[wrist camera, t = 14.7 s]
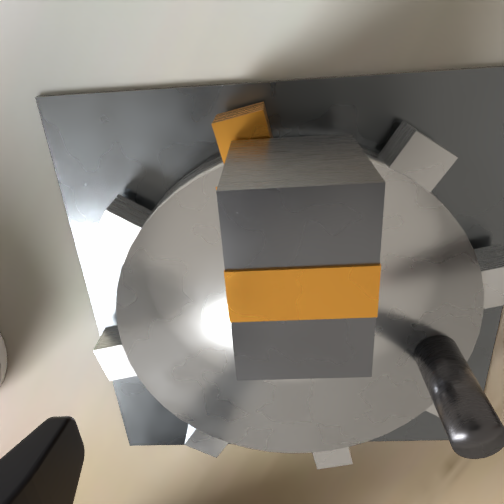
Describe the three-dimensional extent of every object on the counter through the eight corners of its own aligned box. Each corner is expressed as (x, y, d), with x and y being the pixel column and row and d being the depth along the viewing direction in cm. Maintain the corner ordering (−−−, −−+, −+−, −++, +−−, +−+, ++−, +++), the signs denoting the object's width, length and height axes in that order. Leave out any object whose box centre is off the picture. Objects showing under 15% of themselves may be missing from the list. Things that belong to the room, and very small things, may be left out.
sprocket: (591, 241, 19) (734, 341, 13) (342, 480, 26) (363, 611, 20) (210, -4, 15) (173, -16, 9) (45, 354, 23) (-32, 470, 17)
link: (346, 287, 18) (372, 378, 13) (244, 291, 18) (235, 382, 14) (351, 133, 15) (386, 183, 11) (230, 140, 15) (215, 191, 11)
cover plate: (471, 436, 25) (472, 439, 25) (130, 442, 26) (129, 445, 26) (554, 62, 16) (557, 63, 16) (37, 96, 17) (35, 96, 17)
